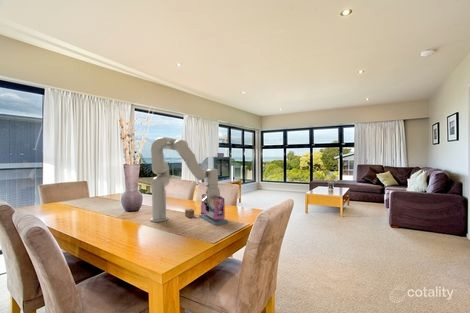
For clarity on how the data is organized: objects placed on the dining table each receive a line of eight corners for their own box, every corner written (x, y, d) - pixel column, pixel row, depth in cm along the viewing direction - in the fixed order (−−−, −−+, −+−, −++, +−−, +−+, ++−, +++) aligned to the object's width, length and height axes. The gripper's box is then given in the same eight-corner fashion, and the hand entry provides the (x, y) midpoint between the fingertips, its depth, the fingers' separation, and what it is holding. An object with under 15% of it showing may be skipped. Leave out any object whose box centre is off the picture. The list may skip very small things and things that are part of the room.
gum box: (226, 218, 157) (226, 199, 156) (215, 220, 152) (215, 200, 152) (210, 210, 177) (210, 193, 176) (201, 212, 173) (201, 194, 172)
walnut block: (185, 216, 174) (185, 209, 174) (191, 215, 177) (191, 208, 177) (188, 217, 170) (187, 211, 170) (194, 216, 173) (194, 210, 173)
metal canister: (200, 213, 183) (199, 203, 183) (205, 212, 186) (205, 202, 186) (202, 214, 179) (202, 204, 179) (208, 213, 182) (208, 203, 181)
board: (199, 217, 172) (199, 215, 172) (210, 214, 178) (210, 212, 178) (215, 225, 152) (215, 223, 152) (228, 222, 158) (228, 220, 158)
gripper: (204, 188, 156) (204, 213, 157) (225, 185, 166) (225, 209, 167) (199, 186, 162) (199, 211, 163) (220, 184, 173) (220, 207, 173)
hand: (212, 210), depth 165 cm, fingers closed on gum box, 8 cm apart
